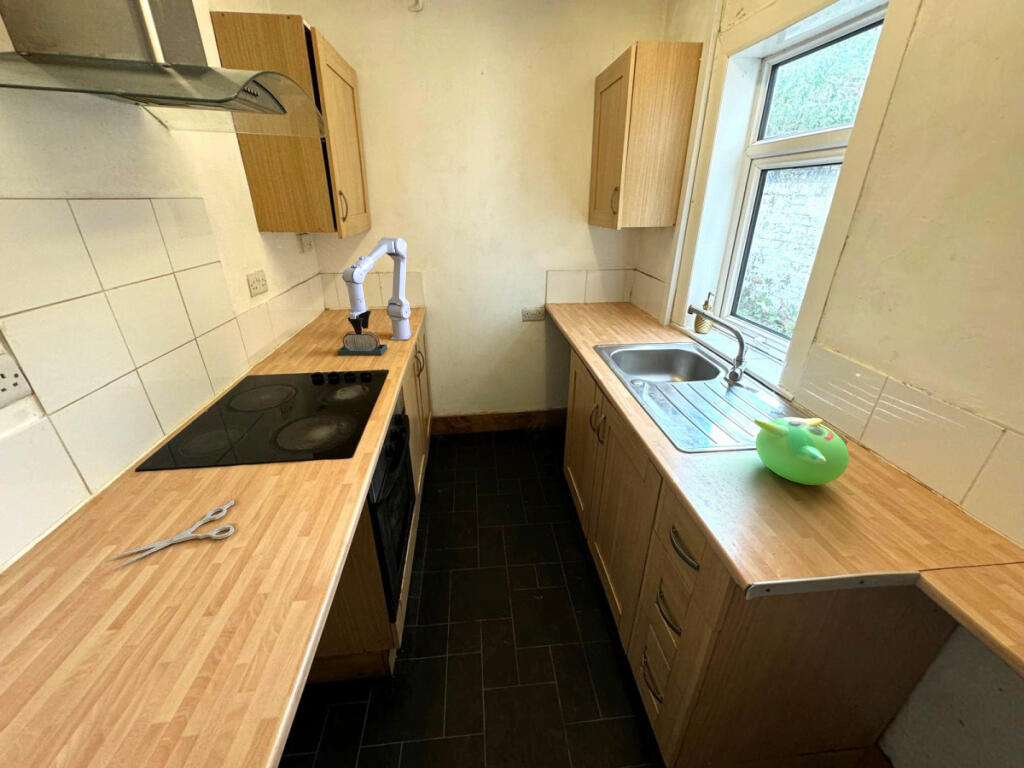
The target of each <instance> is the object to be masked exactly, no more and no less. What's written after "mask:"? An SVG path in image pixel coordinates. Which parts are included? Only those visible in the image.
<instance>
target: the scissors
mask: <svg viewBox="0 0 1024 768" xmlns="http://www.w3.org/2000/svg"><path fill="white" fill-rule="evenodd" d="M233 505H235V500H233V499H232V500H230V501H229V502H228V503H226V504H225V505H223V506H221V505H220V506H217V507H214V508H212V509H210V510H209V511H207V513H206V514H205V517H203V519H200V520H198V521H197V522H195V524H194V525H193V526H191V527H190V528H188V529H186V530H184V531H181V532H179V533H178V534H177V535H175V536H173V537H171V538H168V539H164V540H160V541H157V542H153V543H151V544H147V545H144V546H140V547H137V548H134V549H131V550H127V551H124V552H121V553H118V554H115V555H113V556H111V558H114V557H118V556H123V555H126V554H130V553H135V552H139V551H144V550H147V549H149V550H147V551H145V552H143V553H141V554H139V555H137V556H136V557H134V558H132V559H130V560H128V561H126V562H123V563H122V564H120V565H118V566H117V567H115V569H118V568H120V567H122V566H125V565H127V564H129V563H132V562H134V561H136V560H138V559H141V558H143V557H145V556H148V555H150V554H152V553H154V552H156V551H158V550H160V549H163V548H166V547H167V546H169V545H172V544H178V543H181V542H182V543H183V542H185V541H189V540H193V539H205V538H212V539H213V540H222V539H225V538H228V537H229V536H231V535H233V533H235V528H234V526H233V525H231V524H226V525H221V526H218V527H216V528H215V529H213V530H212V531H208V532H205V533H193V532H194V531H195V530H196V529H198V528H199V527H200V526H201V525H203V524H205V523H207V522H210V521H216V520H219V519H220V518H222V517H224V516H225V514H227V512H228V511H227V509H228V508H230V507H231V506H233ZM220 511H221V512H220ZM218 512H219V513H218ZM215 513H217V514H215ZM213 514H214V515H213ZM228 530H229V531H228ZM223 531H227V532H225V533H223V534H218V533H220V532H223Z"/></svg>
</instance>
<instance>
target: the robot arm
mask: <svg viewBox="0 0 1024 768" xmlns="http://www.w3.org/2000/svg"><path fill="white" fill-rule="evenodd" d="M407 248H408V245H407V243H406V241H405V240H404V238H402V237H387V236H383V237H382V238H380V239H379V240H378V242H377V244H376V246H375V247H374V248H373V249H371V251H370V252H369V253H368V254H367V255H361V256H359V257H358V260H356V262H354V263H352V264H351V267H346V268H344V270H343V272H342V275H341V278H342V280H343V281H344V283H345V286H346V288H347V293H348V299H349V305H350V308H349V309H348V312H350V313H349V317H347V321H348V322H349V324H350V325H351V326H352V328H353V331H355V333H356V334H362V332H363V330H366V329H367V330H368V329H369V322H370V317H371V313H372V311H371V310H369V308H368V305H367V304H366V298H365V293H364V288H363V283H364V281H365V278H366V275H367V274H368V273H369V272H370V271H372V269H373V268H374V266H375V263H376V261H378V260H380V259H381V258H382V257H383V256H384V255H385V254H386V255H387V256H389V258H391V259H392V261H393V272H392V275H393V276H392V277H393V278H392V296H391V297H390V298H389V299H388V301H387V306H386V308H385V311H386V312H385V313H386V315H387V316H388V317H389V319H390V321H391V329H392V337H391V338H390V340H393V341H395V340H397V341H398V340H399V341H400V340H401V341H409V339H410V337H411V336H412V335H413V332H411V327H410V324H411V323H410V320H409V319H410V316H411V307H410V301H408V299H407V298H406V282H407V281H406V280H407V264H408V263H407V261H408V257H407V252H408V251H407V250H408V249H407Z"/></svg>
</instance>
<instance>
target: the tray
mask: <svg viewBox="0 0 1024 768" xmlns="http://www.w3.org/2000/svg"><path fill="white" fill-rule="evenodd" d="M387 350H388V344H381V343H380V345H379V347H378V348H377V349H376V350H375V351H365V350H348V349H346V348H345V346H344V345H342V346H341V347H340V348H339V349H337V355H338V356H364V357H365V356H366V357H367V356H373V357H374V356H375V357H378V356H379V357H380V356H381V357H382V355H383V354H384V353H385V352H386V351H387Z"/></svg>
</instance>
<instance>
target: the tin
mask: <svg viewBox="0 0 1024 768" xmlns="http://www.w3.org/2000/svg"><path fill="white" fill-rule="evenodd" d="M380 344H381V339H380V338H379V336H378V335H377V334H376V333H375V332H373V331H362V334H356V333H355V331H354V330H352V331H347V332H346V333H345V335H344V336H343V337H342V346H345V348H346V349H348V350H365V351H375V350H376V349H377V348H378V347H379V345H380Z"/></svg>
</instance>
